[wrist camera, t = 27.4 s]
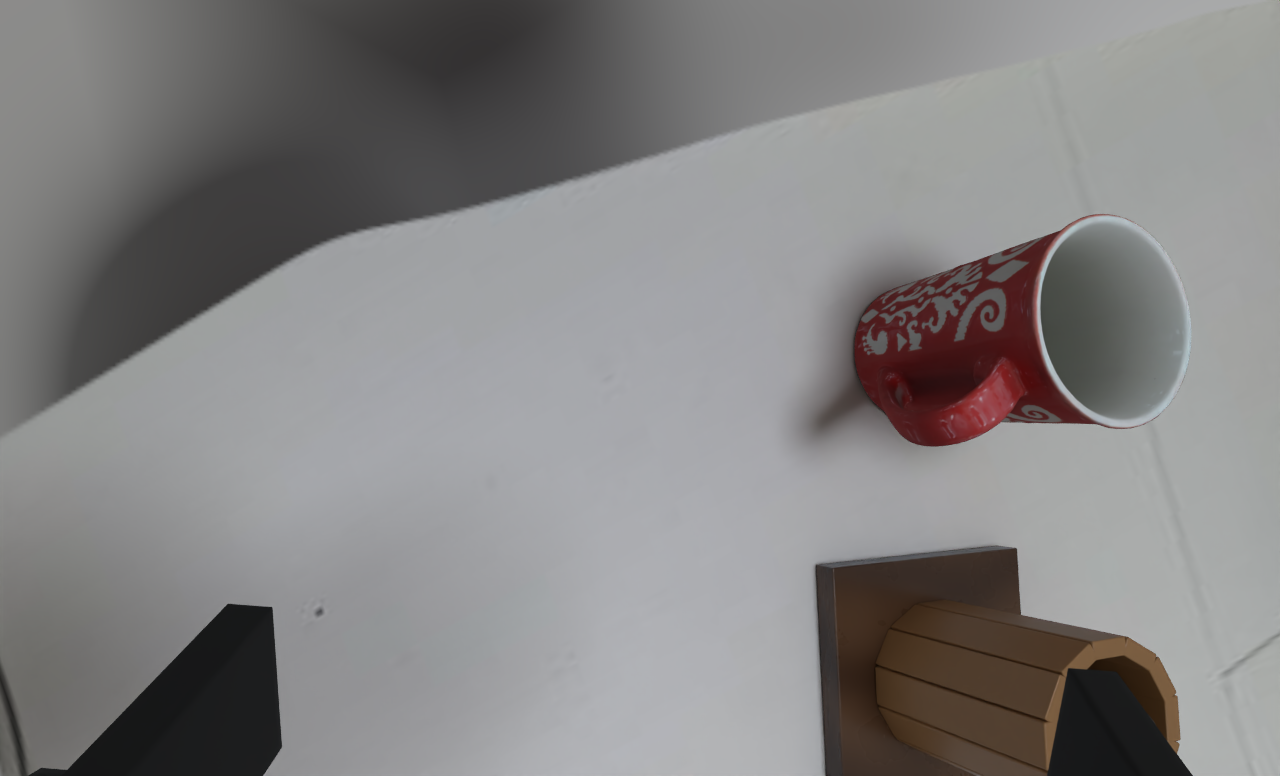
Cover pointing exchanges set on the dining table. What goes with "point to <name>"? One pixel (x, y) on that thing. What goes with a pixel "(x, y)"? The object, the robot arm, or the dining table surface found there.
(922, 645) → the wooden stave cup
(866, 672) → the roll holder
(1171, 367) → the mug
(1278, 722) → the dining table surface
